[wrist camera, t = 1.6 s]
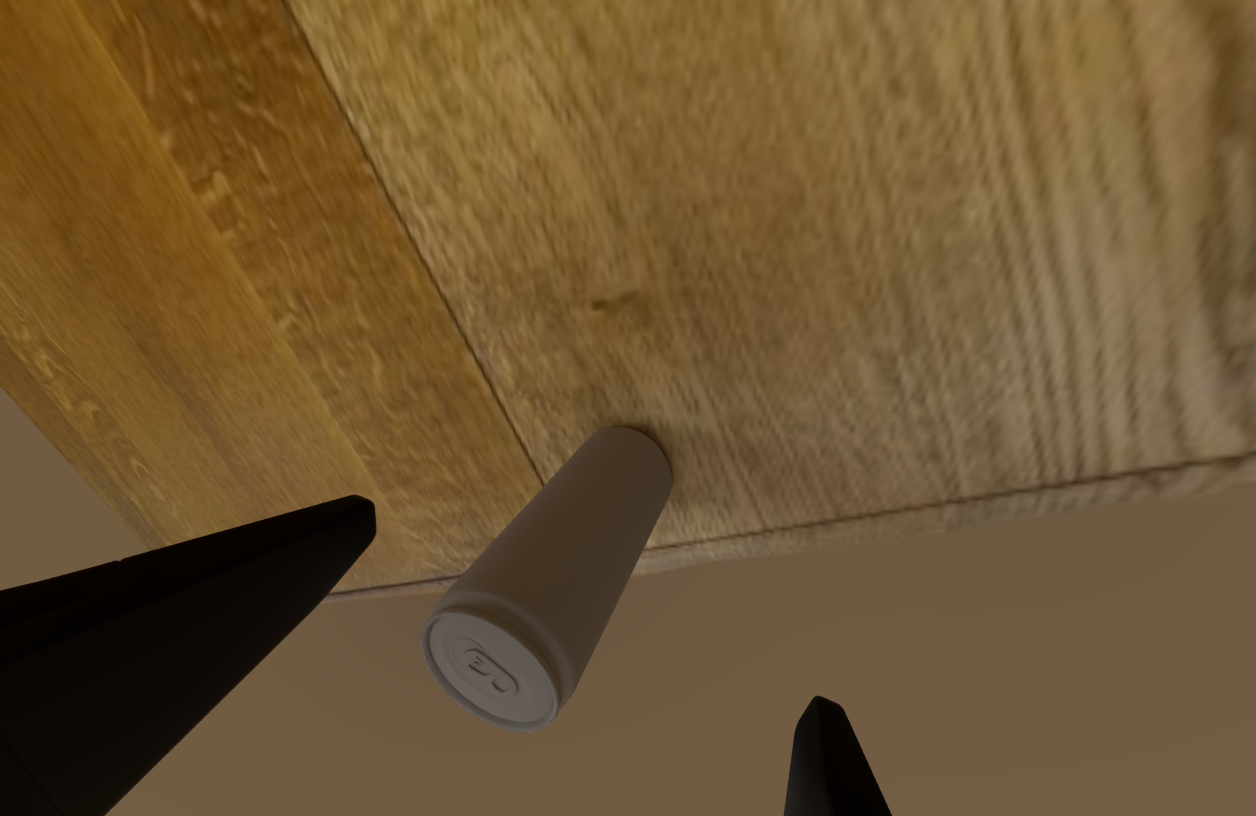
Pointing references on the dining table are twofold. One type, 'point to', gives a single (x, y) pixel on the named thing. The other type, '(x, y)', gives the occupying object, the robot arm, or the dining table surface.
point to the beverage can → (548, 585)
